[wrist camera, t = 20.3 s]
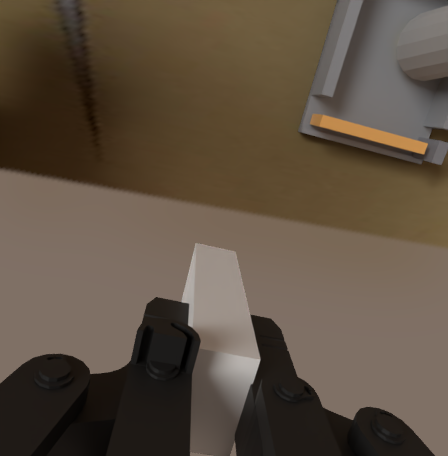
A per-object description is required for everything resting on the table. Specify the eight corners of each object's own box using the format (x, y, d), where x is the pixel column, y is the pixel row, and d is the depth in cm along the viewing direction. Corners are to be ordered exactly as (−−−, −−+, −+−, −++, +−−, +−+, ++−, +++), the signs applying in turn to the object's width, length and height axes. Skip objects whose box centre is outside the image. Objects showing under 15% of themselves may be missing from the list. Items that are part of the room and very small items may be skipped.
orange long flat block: (309, 124, 46) (319, 126, 42) (312, 113, 46) (322, 114, 42) (405, 150, 47) (423, 154, 44) (409, 140, 47) (428, 143, 43)
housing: (298, 131, 47) (309, 135, 42) (351, -47, 42) (372, -68, 37) (414, 162, 49) (439, 169, 44) (479, -5, 44) (516, -19, 39)
